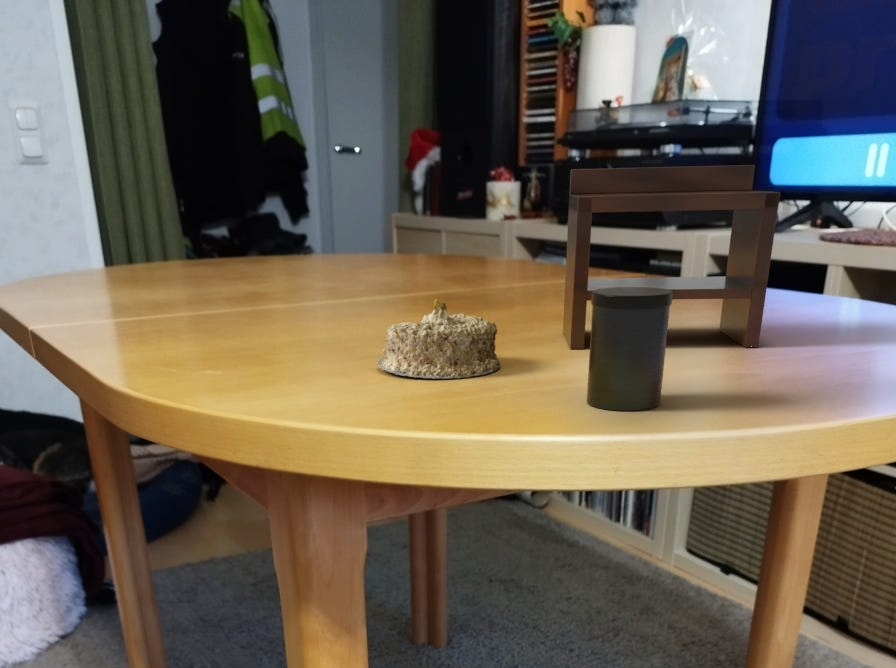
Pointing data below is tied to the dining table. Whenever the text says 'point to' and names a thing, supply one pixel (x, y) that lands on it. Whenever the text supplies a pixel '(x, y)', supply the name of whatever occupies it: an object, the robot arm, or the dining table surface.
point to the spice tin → (627, 347)
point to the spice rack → (676, 193)
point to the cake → (441, 346)
